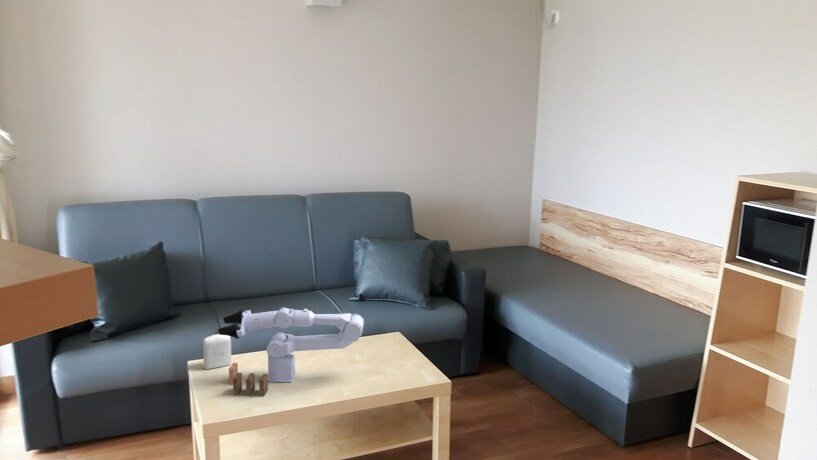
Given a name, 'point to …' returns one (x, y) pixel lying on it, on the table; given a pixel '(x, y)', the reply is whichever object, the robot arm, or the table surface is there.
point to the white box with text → (216, 351)
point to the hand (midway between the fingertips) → (221, 326)
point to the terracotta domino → (232, 372)
